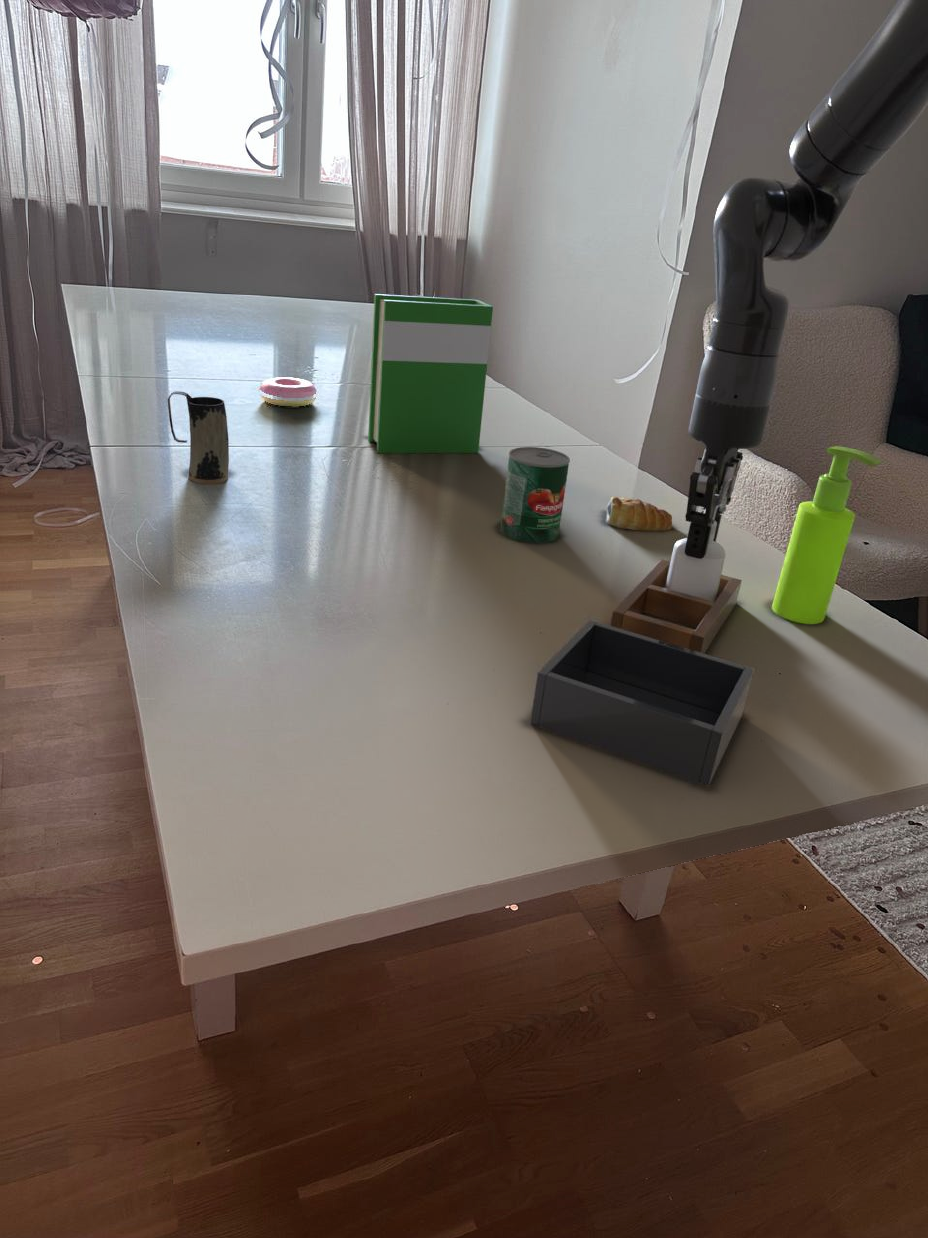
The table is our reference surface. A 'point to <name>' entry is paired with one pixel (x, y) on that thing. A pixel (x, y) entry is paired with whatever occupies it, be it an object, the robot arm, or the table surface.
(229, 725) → the table surface
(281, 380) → the doughnut
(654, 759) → the dark grey open box
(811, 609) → the soap dispenser
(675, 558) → the eye dropper bottle
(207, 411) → the mug
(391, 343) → the hardback book
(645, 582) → the tray
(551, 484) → the canned tomato
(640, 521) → the pastry
